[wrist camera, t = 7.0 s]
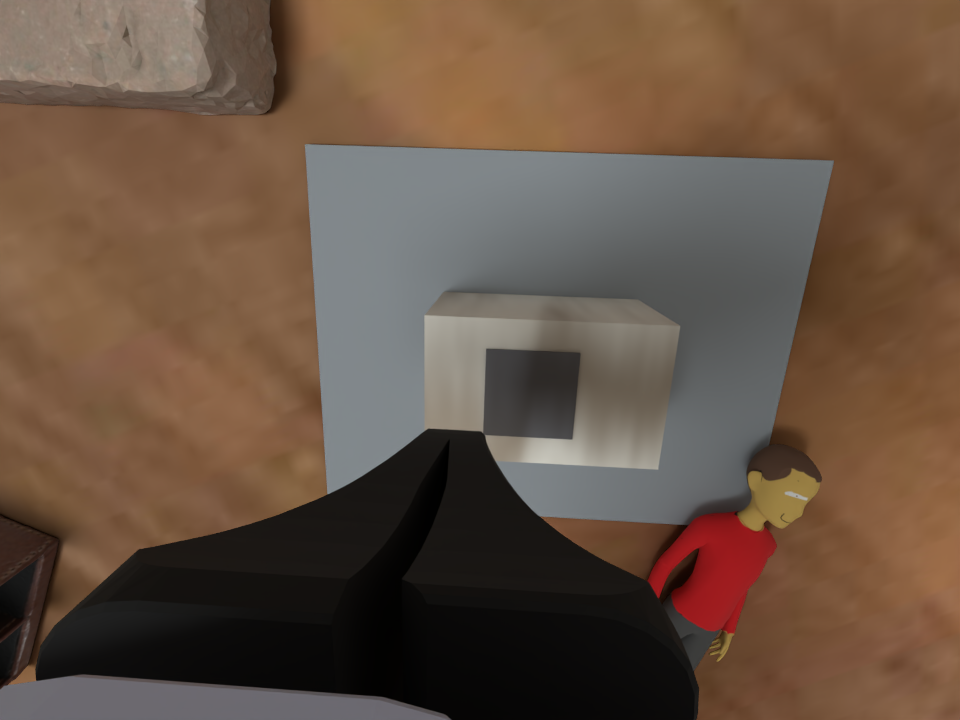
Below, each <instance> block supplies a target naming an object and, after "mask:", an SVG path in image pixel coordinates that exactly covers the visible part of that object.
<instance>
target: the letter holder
mask: <svg viewBox="0 0 960 720" xmlns="http://www.w3.org/2000/svg"><path fill="white" fill-rule="evenodd" d="M58 544H59V540H58V539H57V538H55V537H52V536H49V535H47V534H44V533H42V532H40V531H36V530H34V529H32V528H31V527H28V526H24V525H22V524H20V523H18V522H15V521H12V520H10V519H8V518H5V517H3V516H2V515H0V689H1V688H2V687H3V686H7V685H8V684H9V683H10V682H11V681H13V680H15V679H16V678H17V677H18V676H19V675H20V674H21V672H22V671H23V670H24V669H25V668H26V667H27V665H28V663H29V659H30V656H31V652H32V649H33V645H34V641H35V637H36V634H37V630H38V625H39V621H40V617H41V613H42V609H43V605H44V601H45V597H46V593H47V589H48V584H49V581H50V577H51V571H52V569H53V565H54V560H55V556H56V552H57V549H58Z"/></svg>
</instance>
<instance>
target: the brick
mask: <svg viewBox="0 0 960 720" xmlns="http://www.w3.org/2000/svg"><path fill="white" fill-rule="evenodd" d="M270 2H271V0H0V102H2V103H18V104H27V105H30V104H44V105H74V106H86V105H95V106H101V105H107V106H117V107H126V108H155V109H167V110H175V111H182V112H188V113H194V114H200V115H219V114H239V115H259V114H263V113H265V112H267V111H268V110H269V109H270V108H271V104H272V99H273V94H274V83H273V78H274V75H275V74H276V66H277V64H276V59H275V55H274V51H273V44H272V42H271V35H272V30H271V28H270V24H269V22H270Z"/></svg>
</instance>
